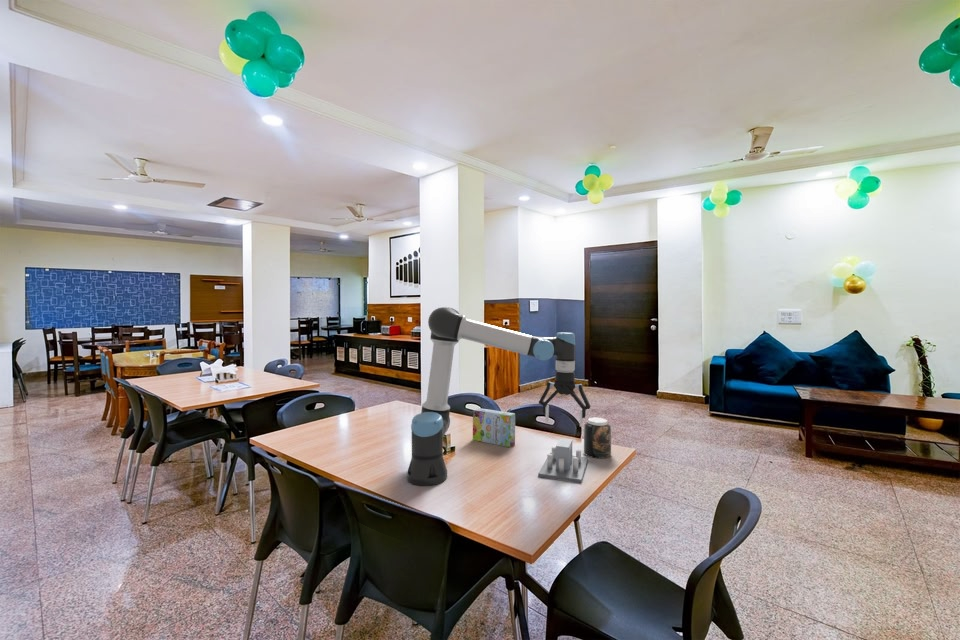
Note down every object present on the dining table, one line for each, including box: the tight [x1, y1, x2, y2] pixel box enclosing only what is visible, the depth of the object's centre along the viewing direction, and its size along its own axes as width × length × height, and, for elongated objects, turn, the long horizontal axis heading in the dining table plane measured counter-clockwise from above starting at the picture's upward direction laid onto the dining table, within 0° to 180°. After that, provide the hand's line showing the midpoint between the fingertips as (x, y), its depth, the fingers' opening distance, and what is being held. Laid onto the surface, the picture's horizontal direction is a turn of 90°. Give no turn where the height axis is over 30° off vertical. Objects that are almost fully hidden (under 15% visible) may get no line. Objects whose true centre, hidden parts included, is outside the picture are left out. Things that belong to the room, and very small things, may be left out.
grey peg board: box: [537, 446, 589, 484], centre depth 161 cm, size 16×24×6 cm, turn 159°
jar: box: [583, 416, 612, 459], centre depth 177 cm, size 12×12×15 cm
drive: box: [555, 438, 573, 470], centre depth 160 cm, size 5×10×9 cm, turn 160°
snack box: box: [472, 407, 516, 448], centre depth 192 cm, size 21×6×15 cm, turn 58°
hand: (563, 423), depth 160 cm, fingers open, 13 cm apart
